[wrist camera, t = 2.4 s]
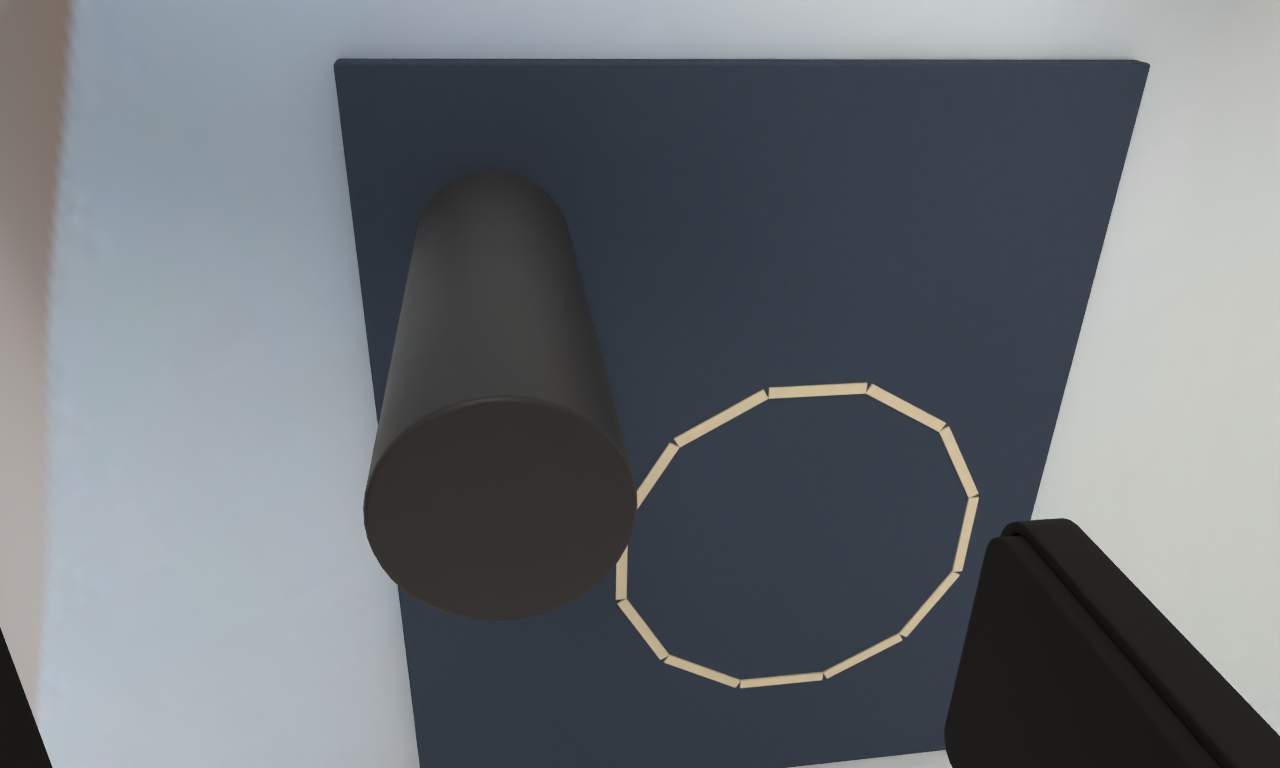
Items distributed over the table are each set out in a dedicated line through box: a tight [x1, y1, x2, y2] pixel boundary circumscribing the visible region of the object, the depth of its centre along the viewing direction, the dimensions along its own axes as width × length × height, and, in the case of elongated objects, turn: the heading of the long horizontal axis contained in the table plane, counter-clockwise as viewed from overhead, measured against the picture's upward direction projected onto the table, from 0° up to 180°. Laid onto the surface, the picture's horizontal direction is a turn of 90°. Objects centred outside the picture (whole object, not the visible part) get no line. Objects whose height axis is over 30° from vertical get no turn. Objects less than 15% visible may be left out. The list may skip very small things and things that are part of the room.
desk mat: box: [334, 59, 1150, 768], centre depth 25 cm, size 22×18×1 cm
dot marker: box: [363, 171, 638, 621], centre depth 16 cm, size 3×3×11 cm
